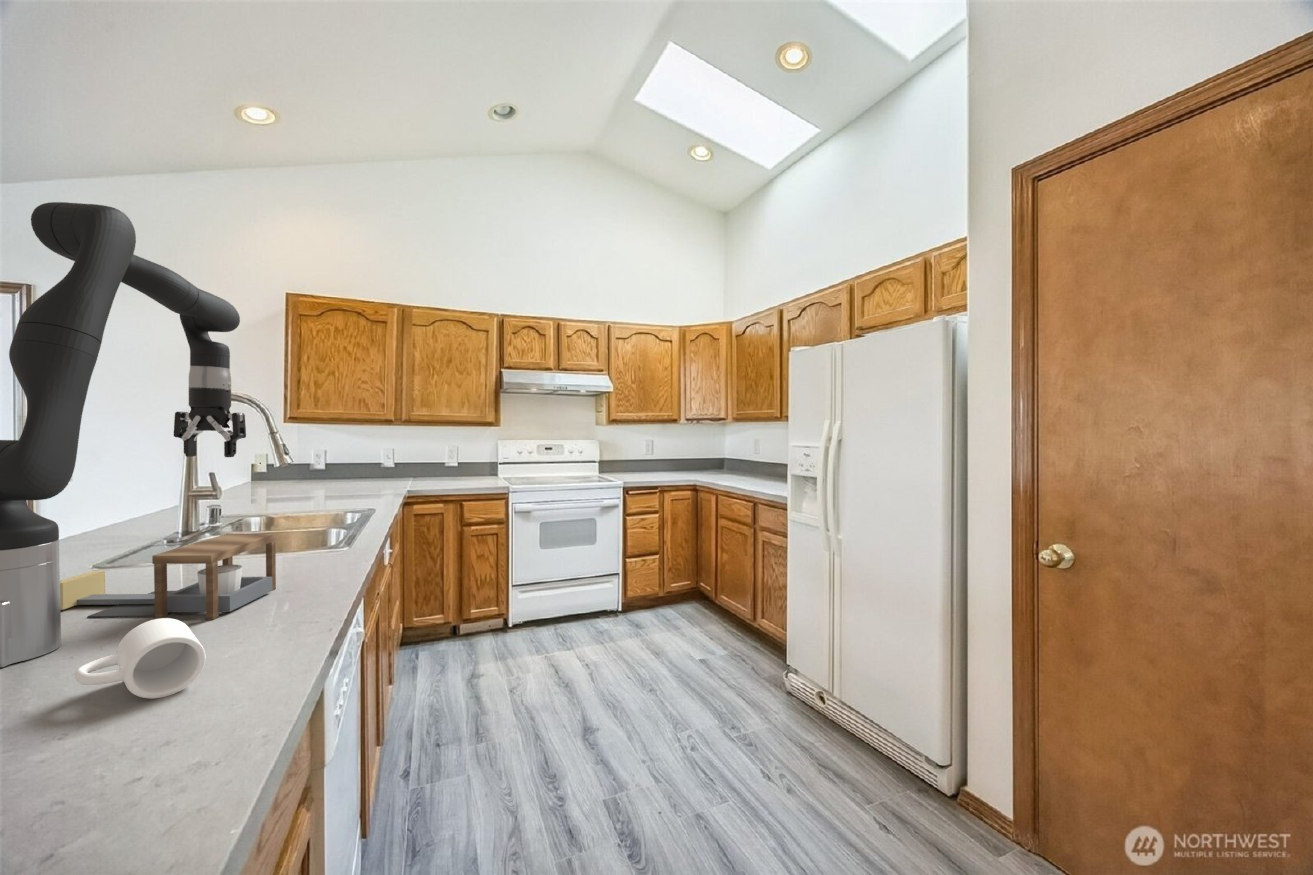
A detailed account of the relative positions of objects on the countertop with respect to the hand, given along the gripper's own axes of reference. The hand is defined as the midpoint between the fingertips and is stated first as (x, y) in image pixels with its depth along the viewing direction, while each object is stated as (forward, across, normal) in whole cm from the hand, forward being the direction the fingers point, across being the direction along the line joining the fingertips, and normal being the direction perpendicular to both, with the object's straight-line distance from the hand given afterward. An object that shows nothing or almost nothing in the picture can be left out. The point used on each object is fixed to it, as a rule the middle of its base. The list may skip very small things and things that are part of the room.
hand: (210, 456), depth 120 cm
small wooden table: (+28, +16, -19) cm, 38 cm away
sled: (+27, +6, -19) cm, 34 cm away
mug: (+29, +31, -52) cm, 67 cm away
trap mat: (+28, +4, -19) cm, 34 cm away
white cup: (+28, +16, -19) cm, 38 cm away
